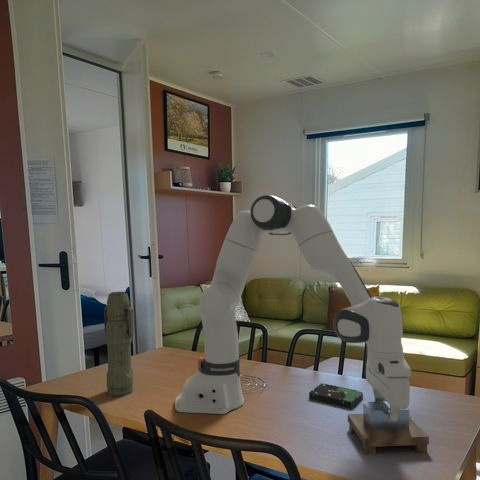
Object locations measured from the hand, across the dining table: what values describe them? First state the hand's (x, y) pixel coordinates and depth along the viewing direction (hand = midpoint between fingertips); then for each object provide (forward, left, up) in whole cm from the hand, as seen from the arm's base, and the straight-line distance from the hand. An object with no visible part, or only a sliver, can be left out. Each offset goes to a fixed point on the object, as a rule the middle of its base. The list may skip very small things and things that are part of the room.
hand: (385, 411), depth 109 cm
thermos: (-79, +40, -8) cm, 89 cm away
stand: (0, 0, -7) cm, 7 cm away
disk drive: (-6, +28, -8) cm, 29 cm away
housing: (0, 0, -3) cm, 3 cm away
